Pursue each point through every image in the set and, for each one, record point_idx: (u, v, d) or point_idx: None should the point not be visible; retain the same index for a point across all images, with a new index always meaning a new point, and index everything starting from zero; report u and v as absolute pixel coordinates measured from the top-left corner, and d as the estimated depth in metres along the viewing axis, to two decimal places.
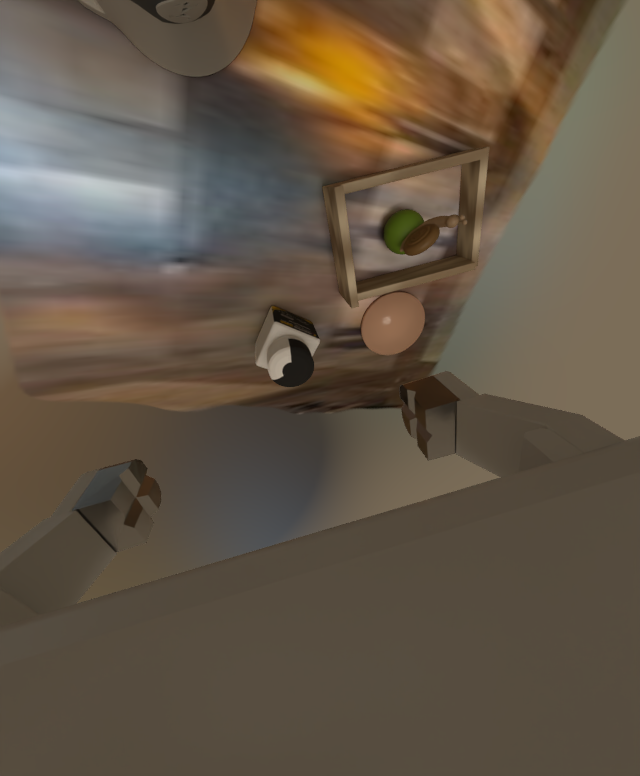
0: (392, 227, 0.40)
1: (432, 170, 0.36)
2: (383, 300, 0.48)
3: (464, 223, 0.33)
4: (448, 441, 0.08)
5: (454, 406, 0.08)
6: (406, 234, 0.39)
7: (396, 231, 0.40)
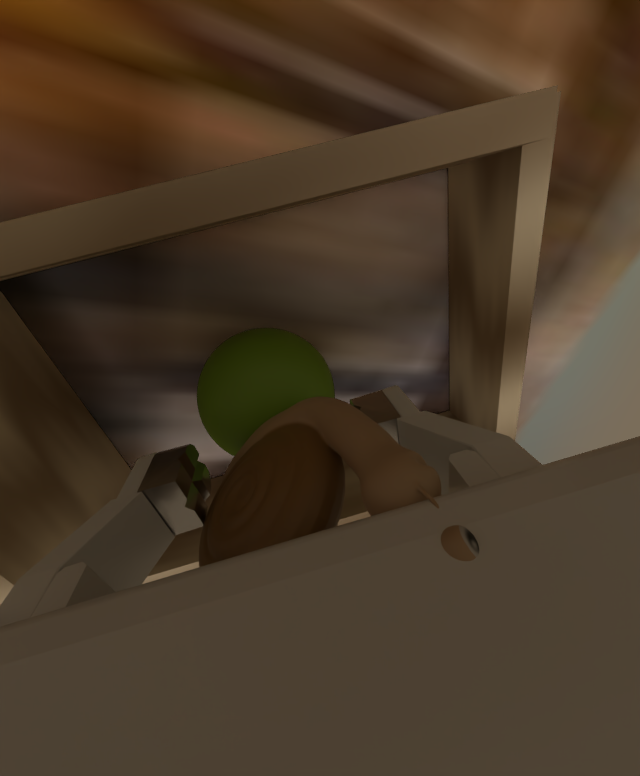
0: (201, 399, 0.11)
1: (298, 194, 0.08)
2: None
3: None
4: None
5: (395, 423, 0.08)
6: (246, 434, 0.10)
7: (212, 417, 0.10)
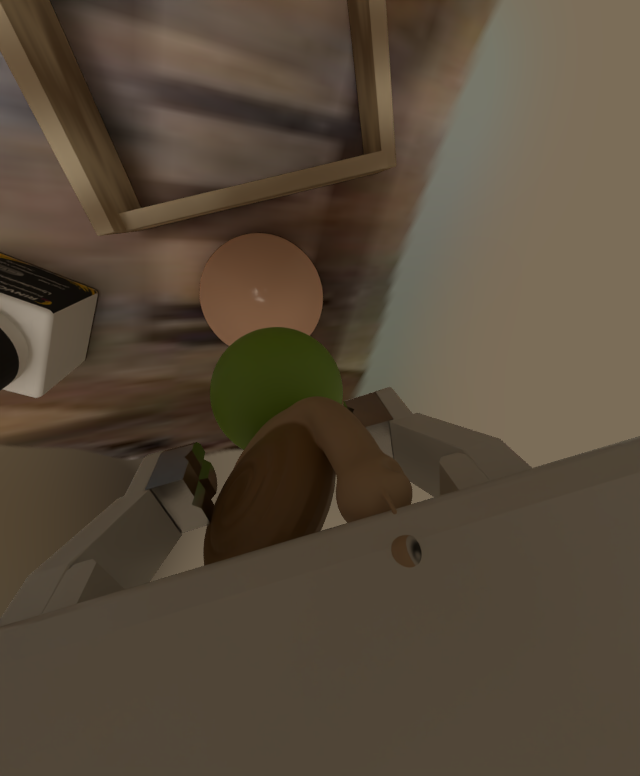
0: (212, 398, 0.11)
1: None
2: (229, 248, 0.25)
3: None
4: None
5: (387, 425, 0.08)
6: (253, 431, 0.11)
7: (222, 416, 0.11)
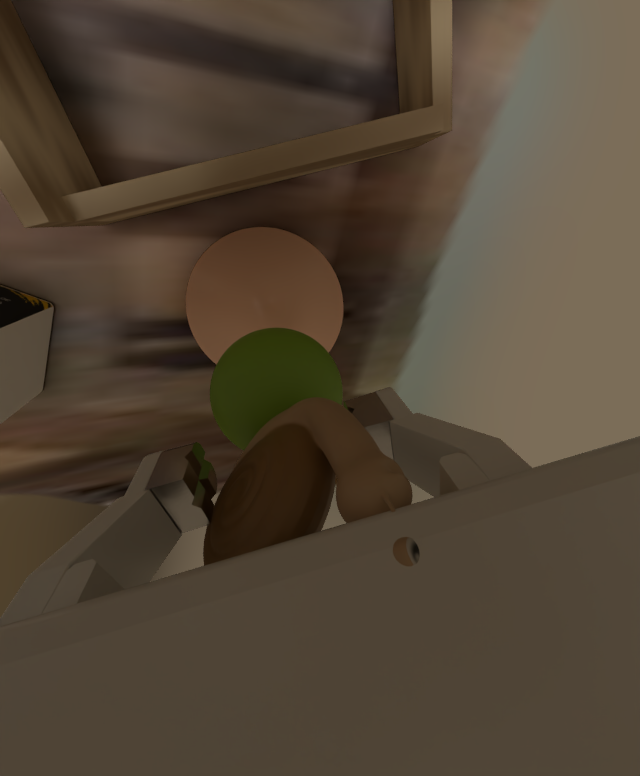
0: (212, 399, 0.11)
1: None
2: (224, 247, 0.19)
3: None
4: None
5: (388, 425, 0.08)
6: (253, 432, 0.11)
7: (222, 416, 0.11)
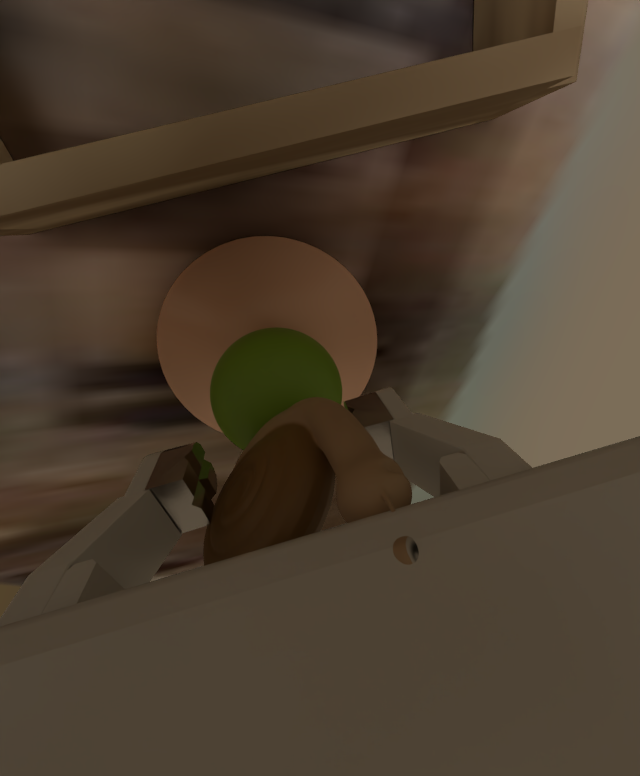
0: (212, 398, 0.11)
1: None
2: (210, 265, 0.13)
3: None
4: None
5: (388, 425, 0.08)
6: (253, 432, 0.11)
7: (222, 416, 0.11)
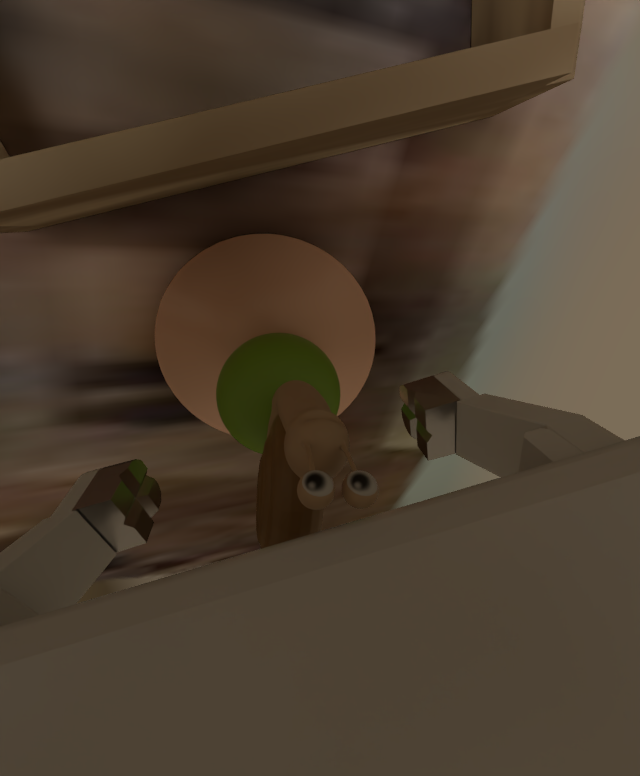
0: (227, 429, 0.13)
1: None
2: (208, 263, 0.13)
3: (360, 506, 0.04)
4: (448, 441, 0.08)
5: (454, 406, 0.08)
6: (266, 438, 0.12)
7: (240, 439, 0.12)
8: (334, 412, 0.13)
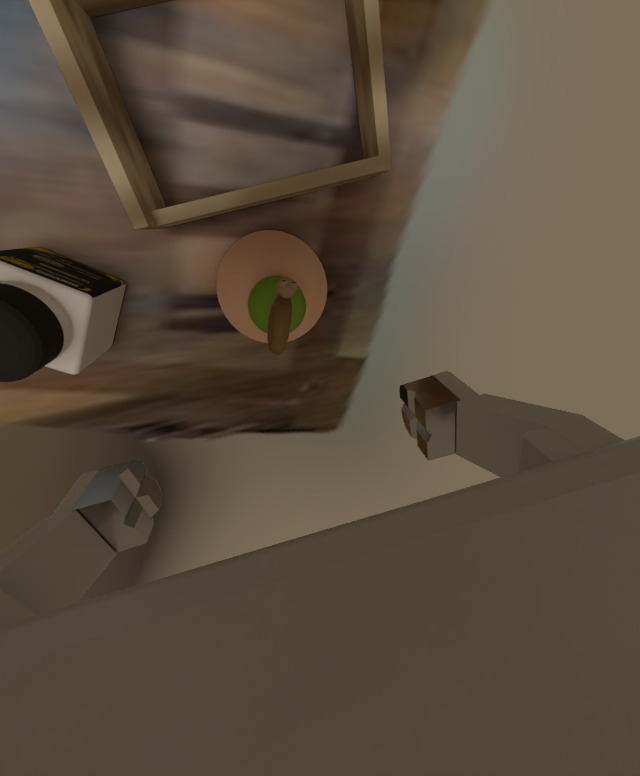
0: (252, 319, 0.28)
1: None
2: (243, 243, 0.28)
3: (294, 288, 0.19)
4: (448, 441, 0.08)
5: (454, 406, 0.08)
6: None
7: (259, 321, 0.27)
8: (302, 311, 0.28)
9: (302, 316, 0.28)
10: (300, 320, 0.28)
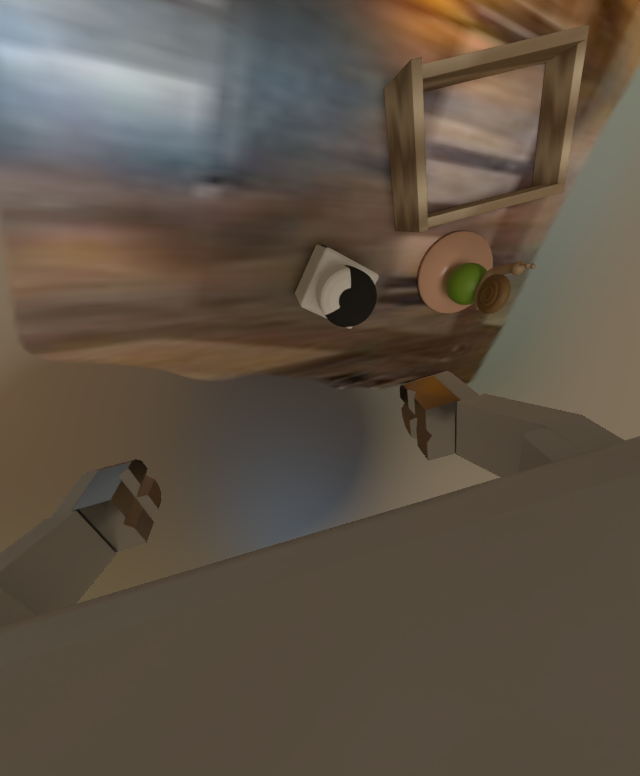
0: (455, 292, 0.41)
1: (523, 52, 0.30)
2: (446, 240, 0.41)
3: (533, 267, 0.32)
4: (448, 441, 0.08)
5: (454, 406, 0.08)
6: (473, 291, 0.39)
7: (462, 294, 0.40)
8: None
9: None
10: None
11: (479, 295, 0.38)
